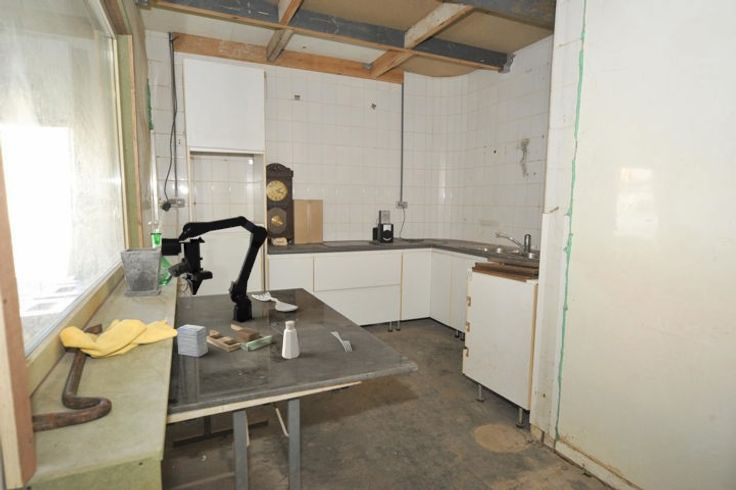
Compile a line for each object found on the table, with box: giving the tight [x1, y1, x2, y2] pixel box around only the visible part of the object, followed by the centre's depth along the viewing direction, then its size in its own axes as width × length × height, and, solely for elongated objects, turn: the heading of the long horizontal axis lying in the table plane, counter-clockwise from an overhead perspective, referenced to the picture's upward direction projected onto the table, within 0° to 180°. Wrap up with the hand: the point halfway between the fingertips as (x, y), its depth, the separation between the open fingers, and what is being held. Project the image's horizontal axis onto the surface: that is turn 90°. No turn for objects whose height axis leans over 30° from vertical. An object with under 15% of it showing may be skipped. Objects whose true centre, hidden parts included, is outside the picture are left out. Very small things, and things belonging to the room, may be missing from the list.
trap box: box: [207, 323, 273, 353], centre depth 135 cm, size 14×24×2 cm, turn 51°
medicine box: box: [176, 324, 208, 358], centre depth 123 cm, size 8×4×9 cm, turn 71°
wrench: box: [265, 321, 285, 338], centre depth 144 cm, size 5×20×1 cm, turn 37°
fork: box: [330, 331, 353, 353], centre depth 135 cm, size 3×21×3 cm, turn 20°
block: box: [235, 327, 261, 344], centre depth 133 cm, size 4×7×4 cm, turn 53°
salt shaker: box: [281, 320, 300, 360], centre depth 122 cm, size 5×5×11 cm
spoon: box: [251, 291, 299, 313], centre depth 178 cm, size 9×32×4 cm, turn 41°
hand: (194, 295), depth 149 cm, fingers closed
